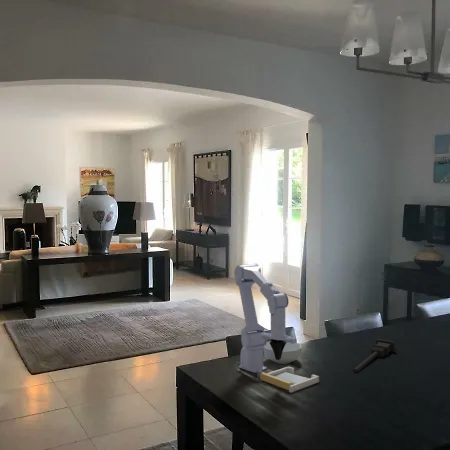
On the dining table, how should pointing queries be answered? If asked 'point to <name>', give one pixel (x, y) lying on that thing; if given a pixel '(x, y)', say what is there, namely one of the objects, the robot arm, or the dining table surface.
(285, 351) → the cereal bowl
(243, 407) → the dining table surface
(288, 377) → the hard drive
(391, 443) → the dining table surface
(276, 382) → the bar
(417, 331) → the dining table surface
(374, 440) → the dining table surface
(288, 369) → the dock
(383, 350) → the electrical plug
